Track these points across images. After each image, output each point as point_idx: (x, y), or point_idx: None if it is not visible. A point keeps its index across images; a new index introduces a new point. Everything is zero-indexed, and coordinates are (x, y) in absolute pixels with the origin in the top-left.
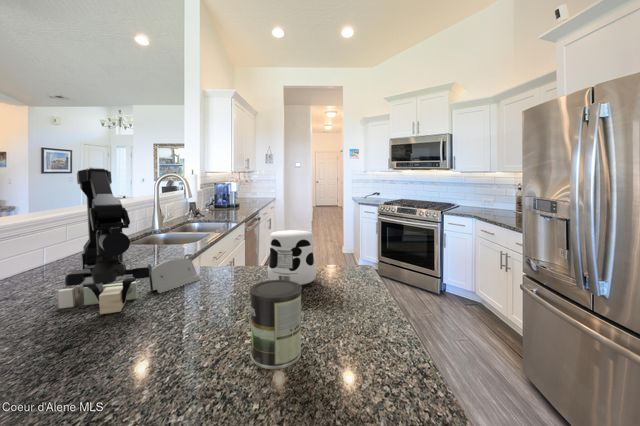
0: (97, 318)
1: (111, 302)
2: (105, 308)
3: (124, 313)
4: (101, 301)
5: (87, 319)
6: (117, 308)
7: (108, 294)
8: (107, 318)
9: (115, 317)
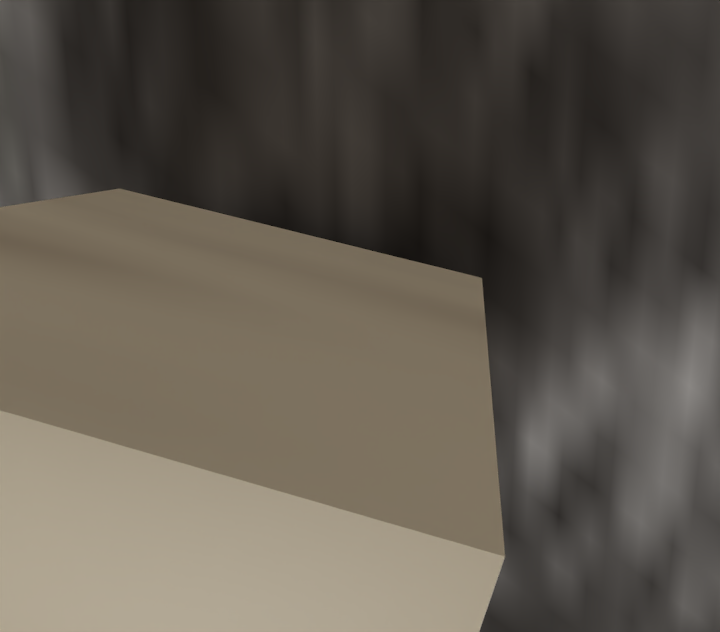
0: (531, 190)
1: (150, 279)
2: (355, 273)
3: (79, 153)
4: (417, 368)
5: (709, 258)
6: (124, 206)
7: (23, 457)
8: (356, 58)
9: (216, 18)
